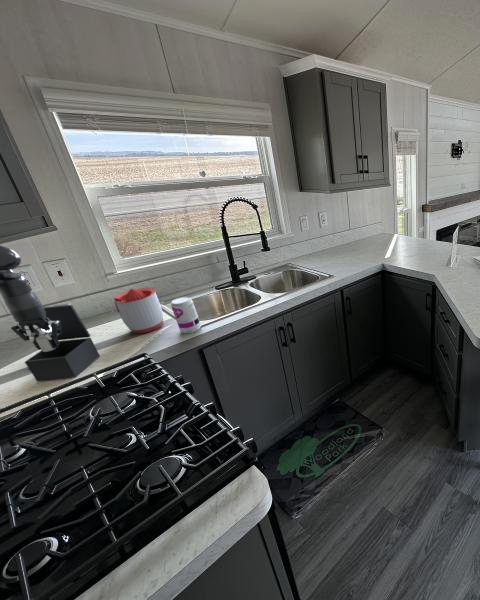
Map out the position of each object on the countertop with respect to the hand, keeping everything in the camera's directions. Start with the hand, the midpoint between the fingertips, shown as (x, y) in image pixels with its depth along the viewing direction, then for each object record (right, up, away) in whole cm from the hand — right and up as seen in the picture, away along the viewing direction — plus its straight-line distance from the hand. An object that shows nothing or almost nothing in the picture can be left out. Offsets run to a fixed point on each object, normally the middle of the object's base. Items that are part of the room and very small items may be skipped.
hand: (49, 347), depth 118 cm
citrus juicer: (+8, +4, +34) cm, 36 cm away
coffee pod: (0, 0, 0) cm, 0 cm away
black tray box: (0, -9, +8) cm, 12 cm away
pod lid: (-2, +8, +6) cm, 10 cm away
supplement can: (+31, +3, +32) cm, 45 cm away
